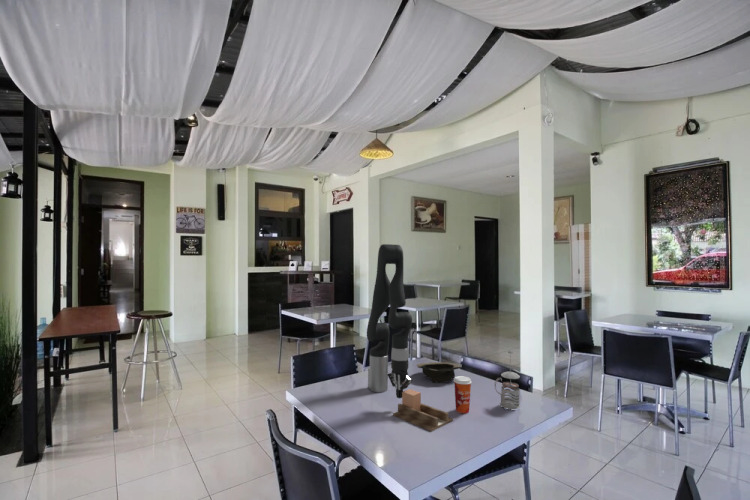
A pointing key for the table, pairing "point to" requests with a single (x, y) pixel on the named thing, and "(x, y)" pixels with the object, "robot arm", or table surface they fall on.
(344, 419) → the table surface
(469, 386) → the paper cup
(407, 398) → the block
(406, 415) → the chute
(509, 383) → the french press
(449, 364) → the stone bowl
